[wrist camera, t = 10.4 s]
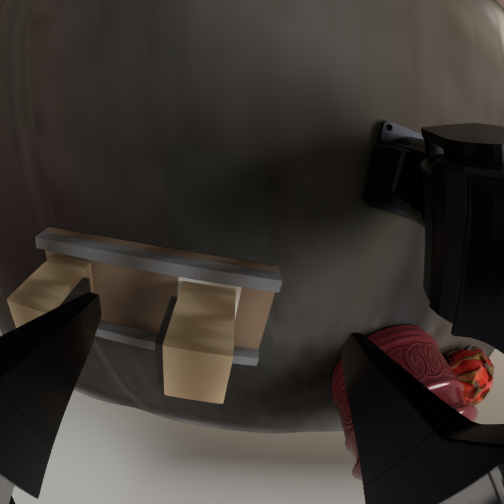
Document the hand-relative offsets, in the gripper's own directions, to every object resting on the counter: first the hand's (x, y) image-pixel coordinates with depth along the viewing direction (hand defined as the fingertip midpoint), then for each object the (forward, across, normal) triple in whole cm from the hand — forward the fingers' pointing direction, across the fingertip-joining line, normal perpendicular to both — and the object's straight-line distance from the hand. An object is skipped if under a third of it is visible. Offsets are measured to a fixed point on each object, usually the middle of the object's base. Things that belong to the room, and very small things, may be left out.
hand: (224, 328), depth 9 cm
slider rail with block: (+12, +6, +8) cm, 16 cm away
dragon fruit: (+12, -32, +14) cm, 37 cm away
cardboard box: (+11, +1, +8) cm, 13 cm away
